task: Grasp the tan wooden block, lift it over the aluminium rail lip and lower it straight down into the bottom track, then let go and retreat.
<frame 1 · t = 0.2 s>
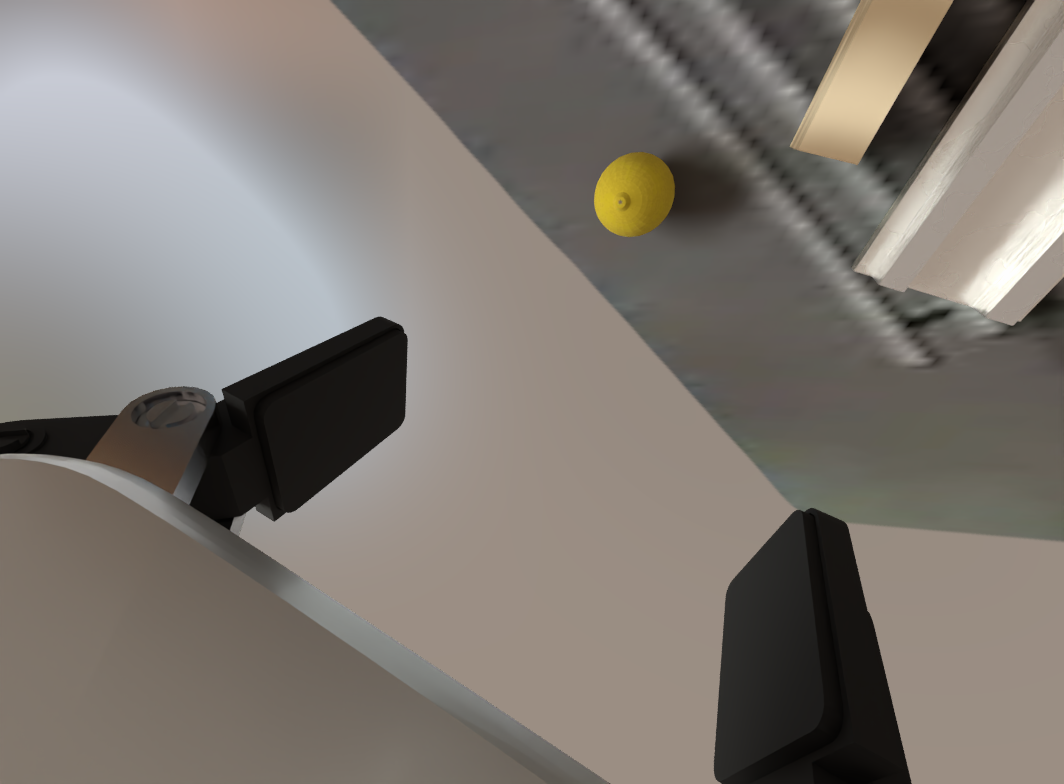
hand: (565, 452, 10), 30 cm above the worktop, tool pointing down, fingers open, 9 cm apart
lemon: (646, 190, 34), on the worktop
tan wooden block: (871, 39, 25), on the worktop
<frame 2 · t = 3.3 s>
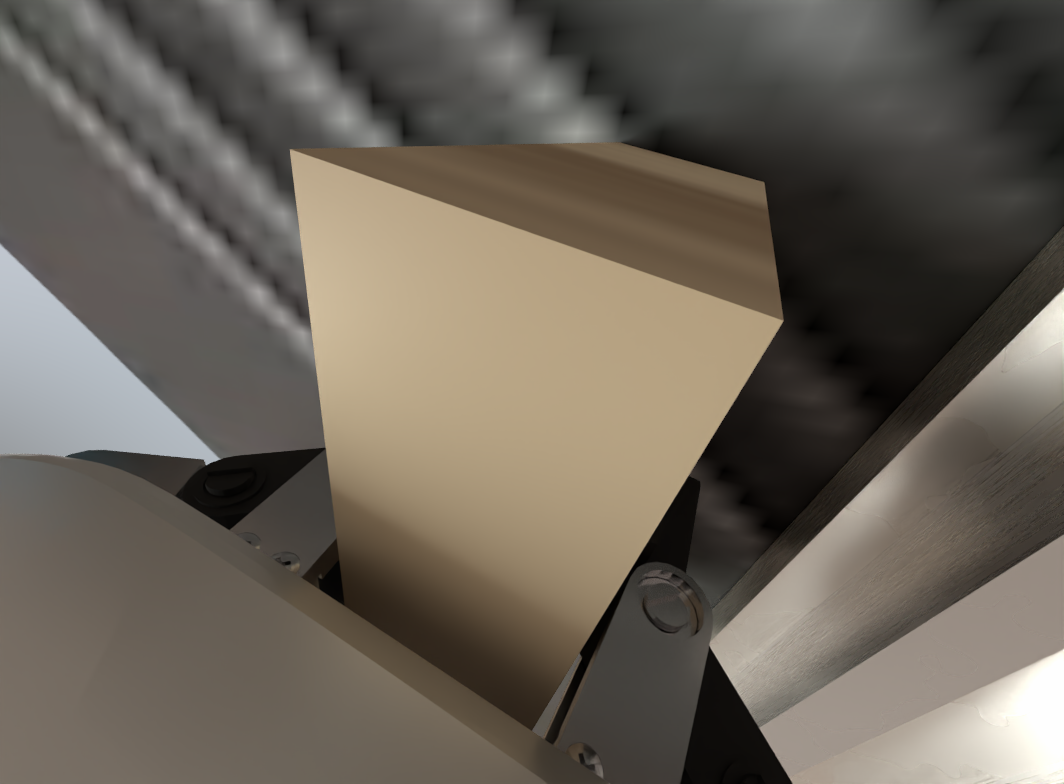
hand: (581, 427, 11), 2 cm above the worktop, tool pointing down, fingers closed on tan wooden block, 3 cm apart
bottom track: (1020, 612, 10), on the worktop
tan wooden block: (601, 394, 12), on the worktop, touching gripper
when the fingers open (4 cm above the worktop, at t = 9.1 s): tan wooden block drops 1 cm, resting on bottom track.
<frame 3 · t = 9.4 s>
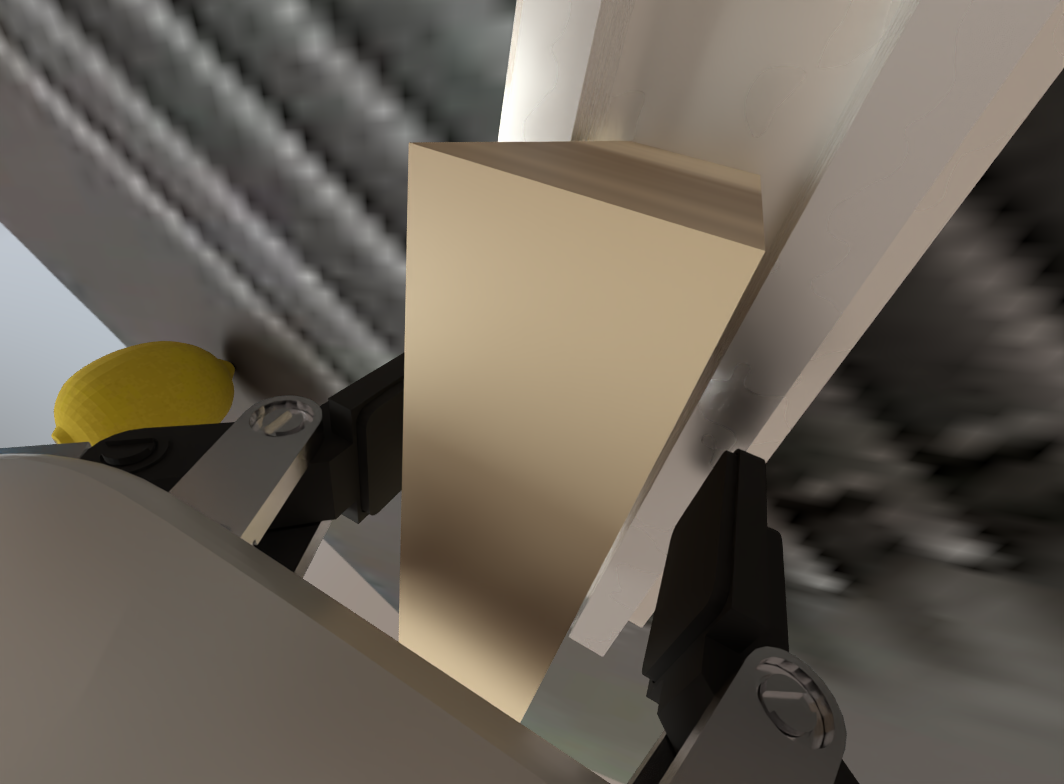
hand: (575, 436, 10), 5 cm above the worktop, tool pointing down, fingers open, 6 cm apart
bottom track: (622, 359, 14), on the worktop
lemon: (235, 364, 25), on the worktop
tan wooden block: (612, 374, 13), point 1 cm above the worktop, touching bottom track
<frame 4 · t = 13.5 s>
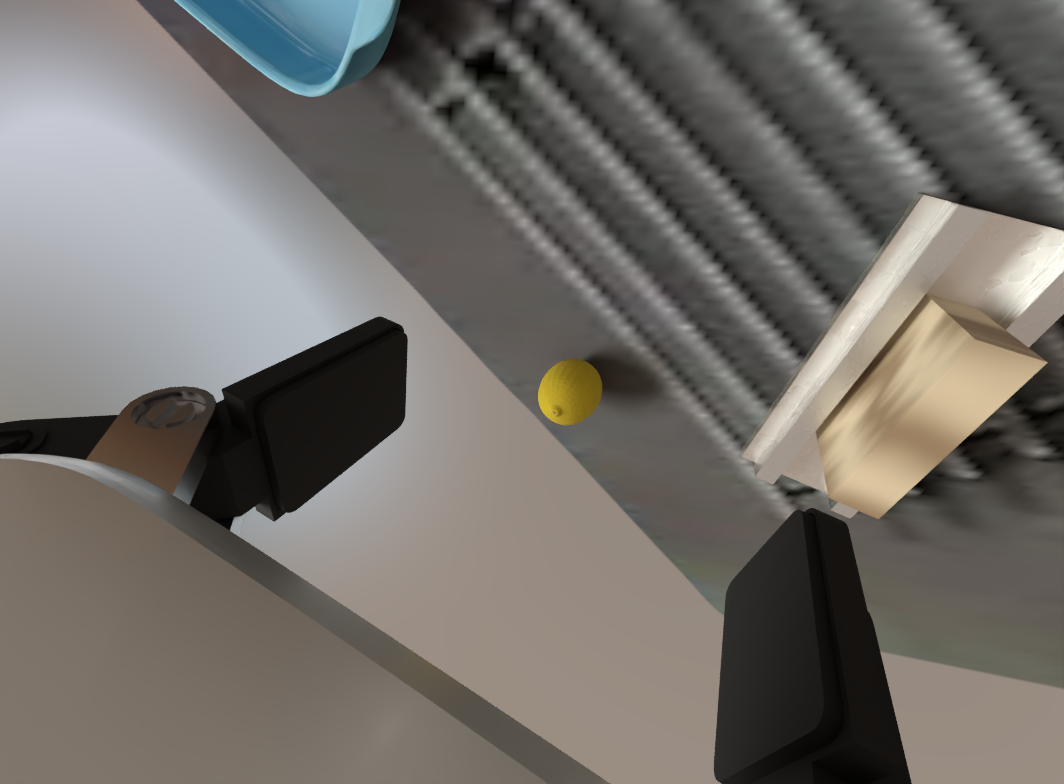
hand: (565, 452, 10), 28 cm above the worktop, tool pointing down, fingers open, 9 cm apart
bottom track: (883, 371, 31), on the worktop
lemon: (585, 371, 42), on the worktop
tan wooden block: (886, 378, 30), point 1 cm above the worktop, touching bottom track
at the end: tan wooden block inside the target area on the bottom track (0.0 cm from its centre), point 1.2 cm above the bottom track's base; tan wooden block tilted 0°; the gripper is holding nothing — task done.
